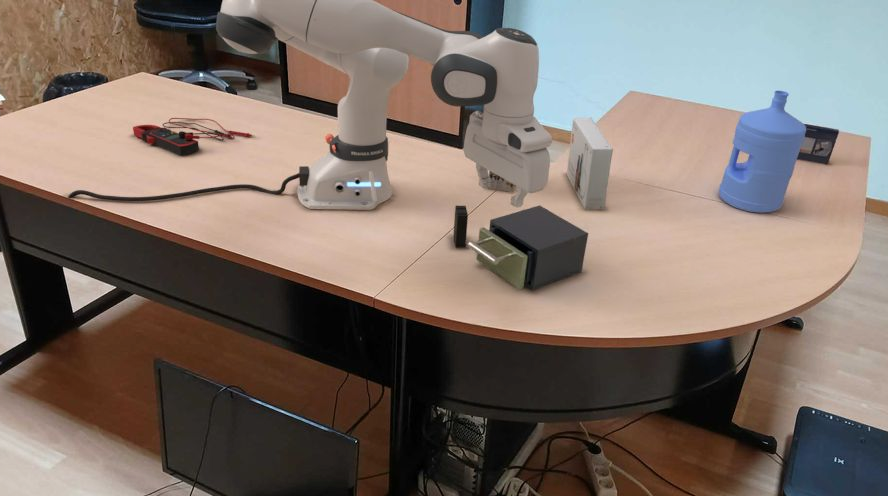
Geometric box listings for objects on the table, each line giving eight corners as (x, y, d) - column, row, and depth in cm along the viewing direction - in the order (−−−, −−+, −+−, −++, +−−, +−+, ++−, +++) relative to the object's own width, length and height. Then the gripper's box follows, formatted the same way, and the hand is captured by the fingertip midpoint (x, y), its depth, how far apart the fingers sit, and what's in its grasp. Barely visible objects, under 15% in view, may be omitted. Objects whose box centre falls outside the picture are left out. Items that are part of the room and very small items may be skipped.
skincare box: (563, 174, 194) (572, 116, 186) (584, 174, 195) (593, 117, 186) (582, 210, 177) (593, 147, 168) (604, 210, 177) (616, 148, 169)
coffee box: (512, 192, 183) (519, 130, 174) (486, 188, 184) (492, 127, 175) (516, 178, 190) (523, 118, 182) (492, 174, 191) (498, 115, 183)
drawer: (499, 297, 140) (503, 264, 136) (457, 266, 149) (459, 234, 145) (565, 272, 149) (570, 241, 145) (521, 244, 158) (525, 214, 154)
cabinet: (532, 290, 144) (538, 250, 139) (486, 258, 154) (490, 219, 149) (581, 272, 152) (588, 233, 147) (534, 242, 161) (539, 205, 156)
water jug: (780, 194, 192) (814, 89, 177) (782, 219, 179) (819, 107, 164) (718, 183, 196) (747, 79, 181) (716, 206, 183) (747, 96, 168)
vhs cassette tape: (761, 152, 217) (771, 120, 212) (761, 149, 219) (771, 117, 214) (827, 165, 212) (839, 132, 206) (827, 161, 214) (839, 129, 209)
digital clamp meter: (183, 145, 184) (123, 120, 196) (185, 162, 186) (126, 136, 198) (255, 122, 200) (196, 100, 212) (256, 138, 203) (198, 115, 214)
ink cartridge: (465, 248, 157) (468, 215, 153) (455, 248, 157) (457, 214, 153) (463, 237, 161) (466, 204, 157) (453, 237, 161) (455, 204, 157)
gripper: (458, 110, 135) (453, 179, 142) (531, 147, 121) (522, 221, 129) (484, 104, 138) (479, 172, 146) (559, 140, 125) (549, 213, 132)
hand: (500, 195), depth 137 cm, fingers open, 8 cm apart
